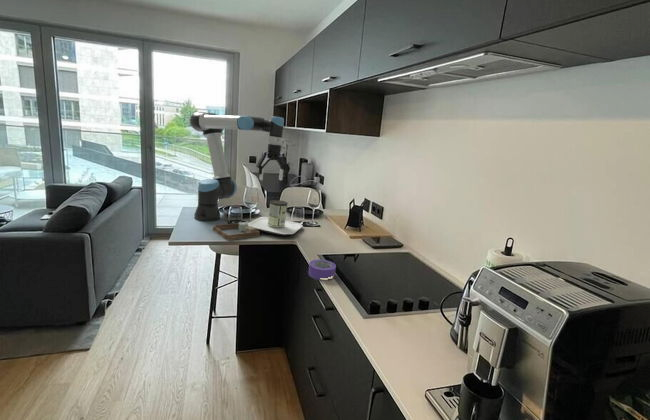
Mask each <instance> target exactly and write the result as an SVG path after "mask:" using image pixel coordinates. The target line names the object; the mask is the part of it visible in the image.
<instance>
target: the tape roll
mask: <svg viewBox="0 0 650 420" xmlns="http://www.w3.org/2000/svg"><path fill="white" fill-rule="evenodd" d="M336 265H337V264H336V263H334V262H333V261H330V260H328V259H327V260H326V259H312V260H311V261H310V262H309V265H308V273H307V274H308V276H309V277H310V278H312V279H314V280H316V281H317V280H318V281H321V280H320V278H328V277H331V276H333V275H334V274H335V275H336V270H337V269H336V268H337V266H336Z"/></svg>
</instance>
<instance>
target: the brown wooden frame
mask: <svg viewBox="0 0 650 420" xmlns="http://www.w3.org/2000/svg"><path fill="white" fill-rule="evenodd" d="M239 223H240V222H236V223H227V224H224V223H223V224H217V225H216V224H215V225H212V231H214V232H215V233H217V234H218V235H219V236H221V237H222V238H223V239H225V240H226V241H231V240H239V239H246V238H247V239H248V238H252V237H253V238H254V237H260V233H261V231H258V230H256V229H255V232H248V233H245V232H242V233H234V234H233V233H232V234H228V233H227V232H225V231H223V230H228V229H236V228H237V229H238V226H239Z"/></svg>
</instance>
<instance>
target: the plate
mask: <svg viewBox="0 0 650 420" xmlns="http://www.w3.org/2000/svg"><path fill="white" fill-rule="evenodd" d="M268 218H269V216H260V217H257V218H256V219H254V220H251V221H249V222H246V223H247V224H248V226H252V227H254V228H255V229H256V230H258V231H260V232H263V233H268V234H271V235H276V236H283V237H284V236H293V235H294V234H296V233H298V232H299V231H300V230H301V229H303V228H304V226H303V225H302V224H301V223H299V222H296V221H291V220H286V219H285V226H284V227H273V226H270V225H268Z"/></svg>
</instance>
